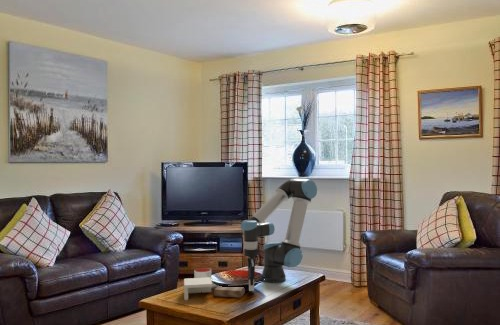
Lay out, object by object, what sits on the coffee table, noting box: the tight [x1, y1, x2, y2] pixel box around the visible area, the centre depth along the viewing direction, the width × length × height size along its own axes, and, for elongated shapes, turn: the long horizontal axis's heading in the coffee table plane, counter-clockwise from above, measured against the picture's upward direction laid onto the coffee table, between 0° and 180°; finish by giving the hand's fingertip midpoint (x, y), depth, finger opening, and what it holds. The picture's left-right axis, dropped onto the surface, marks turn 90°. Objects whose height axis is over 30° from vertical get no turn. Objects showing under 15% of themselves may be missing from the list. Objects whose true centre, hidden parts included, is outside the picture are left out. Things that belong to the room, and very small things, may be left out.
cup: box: [193, 267, 212, 278], centre depth 274 cm, size 10×10×10 cm
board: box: [213, 285, 246, 298], centre depth 258 cm, size 15×9×4 cm, turn 77°
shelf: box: [183, 276, 213, 301], centre depth 256 cm, size 15×14×8 cm
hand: (251, 290), depth 260 cm, fingers closed
